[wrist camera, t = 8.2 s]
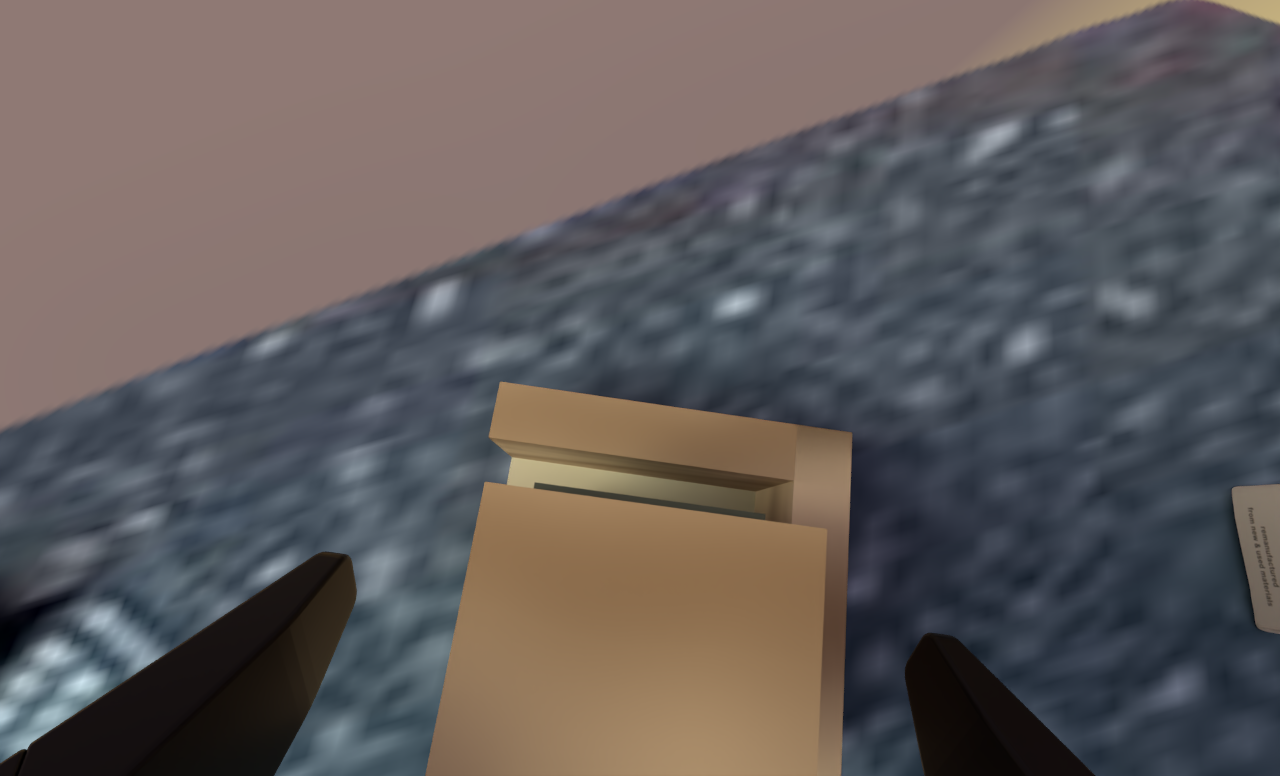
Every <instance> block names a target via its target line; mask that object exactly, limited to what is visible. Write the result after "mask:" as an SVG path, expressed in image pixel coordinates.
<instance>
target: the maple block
mask: <svg viewBox="0 0 1280 776" xmlns="http://www.w3.org/2000/svg"><path fill="white" fill-rule="evenodd" d="M826 547H827V529H824V528H817V527H809V526H802V525H795V524H788V523H780V522H773V521H766V520H765V514H761V513H754V512H747V511H739V510H732V509H725V508H718V507H710V506H703V505H696V504H689V503H681V502H674V501H667V500H660V499H653V498H645V497H638V496H631V495H624V494H616V493H609V492H602V491H595V490H587V489H580V488H573V487H566V486H558V485H551V484H544V483H537V482H535V483H534V488H526V487H519V486H512V485H505V484H497V483H490V482H485V484H484V489H483V494H482V499H481V504H480V509H479V514H478V519H477V524H476V528H475V533H474V538H473V543H472V548H471V553H470V558H469V563H468V568H467V573H466V578H465V583H464V588H463V593H462V597H461V602H460V607H459V612H458V617H457V622H456V627H455V632H454V637H453V642H452V647H451V652H450V657H449V662H448V666H447V671H446V676H445V681H444V686H443V691H442V696H441V701H440V706H439V711H438V716H437V721H436V726H435V731H434V736H433V740H432V745H431V750H430V755H429V760H428V765H427V770H426V775H425V776H817V766H818V742H819V717H820V693H821V669H822V645H823V620H824V596H825V572H826Z"/></svg>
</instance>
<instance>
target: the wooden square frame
mask: <svg viewBox="0 0 1280 776" xmlns="http://www.w3.org/2000/svg"><path fill="white" fill-rule="evenodd" d="M489 438H490V439H491V440H492V441H494V442H495V443H496V444H497V445H498V446H499V447H501V448H502V449H503V450H504V451H505V452H507V453H508V454H509V455H510V456H511V457H512V460H511V466H510V471H509V476H508V481H507V485H512V486H519V487H526V488H534V483H535V482H537V483H544V484H551V485H558V486H566V487H573V488H580V489H587V490H595V491H602V492H609V493H616V494H624V495H631V496H638V497H645V498H653V499H660V500H667V501H674V502H681V503H689V504H696V505H703V506H710V507H718V508H725V509H732V510H739V511H747V512H754V513H761V514H765V520H766V521H773V522H780V523H788V524H795V525H802V526H809V527H817V528H824V529H827V547H826V572H825V596H824V620H823V645H822V669H821V693H820V717H819V742H818V766H817V776H841V761H842V730H843V700H844V669H845V639H846V608H847V578H848V547H849V517H850V486H851V456H852V433H851V432H844V431H837V430H831V429H824V428H817V427H810V426H803V425H796V424H789V423H782V422H775V421H768V420H761V419H755V418H748V417H741V416H734V415H727V414H720V413H713V412H706V411H699V410H692V409H685V408H679V407H672V406H665V405H658V404H651V403H644V402H637V401H630V400H623V399H616V398H609V397H603V396H596V395H589V394H582V393H575V392H568V391H561V390H554V389H547V388H540V387H533V386H527V385H520V384H513V383H506V382H500V385H499V390H498V395H497V400H496V404H495V409H494V414H493V419H492V424H491V429H490V433H489Z"/></svg>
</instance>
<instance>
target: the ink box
mask: <svg viewBox="0 0 1280 776" xmlns="http://www.w3.org/2000/svg"><path fill="white" fill-rule="evenodd" d="M1232 500H1233V507H1234V515H1235V521H1236V525H1237V530H1238V535H1239V540H1240V545H1241V550H1242V554H1243V558H1244V563H1245V568H1246V572H1247V577H1248V581H1249V586H1250V592H1251V600H1252V605H1253V610H1254V617H1255V624H1256V626H1257V627H1258V628H1259V629H1260V630H1263V631H1266V632H1271V633H1276V634H1280V484H1272V485H1256V486H1237V487H1234V488H1232Z"/></svg>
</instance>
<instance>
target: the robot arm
mask: <svg viewBox="0 0 1280 776" xmlns="http://www.w3.org/2000/svg"><path fill="white" fill-rule="evenodd" d="M356 594H357V589H356V583H355V577H354V571H353V565H352V560H351V558H350V557H349V556H348V555H346V554H341V553H334V552H321V553H318V554H316V555H314V556H313V557H311V558H310V559H308V560H307V561H305V562H304V563H302V564H301V565H299V566H298V567H296V568H295V569H293V570H292V571H290V572H289V573H287V574H286V575H284V576H283V577H281V578H280V579H278V580H277V581H275V582H274V583H272V584H271V585H269V586H268V587H266V588H265V589H263V590H262V591H260V592H259V593H257V594H256V595H254V596H253V597H251V598H250V599H248V600H247V601H245V602H244V603H242V604H240V605H239V606H237V607H236V608H234V609H233V610H231V611H230V612H228V613H227V614H225V615H224V616H222V617H221V618H219V619H218V620H216V621H215V622H213V623H212V624H210V625H209V626H207V627H206V628H204V629H203V630H201V631H200V632H198V633H197V634H195V635H194V636H192V637H191V638H189V639H188V640H186V641H185V642H183V643H182V644H180V645H179V646H177V647H176V648H174V649H173V650H171V651H170V652H168V653H167V654H165V655H164V656H162V657H161V658H159V659H158V660H156V661H154V662H153V663H151V664H150V665H148V666H147V667H145V668H144V669H142V670H141V671H139V672H138V673H136V674H135V675H133V676H132V677H130V678H129V679H127V680H126V681H124V682H123V683H121V684H120V685H118V686H117V687H115V688H114V689H112V690H111V691H109V692H108V693H106V694H105V695H103V696H102V697H100V698H99V699H97V700H96V701H94V702H93V703H91V704H90V705H88V706H87V707H85V708H84V709H82V710H81V711H79V712H78V713H76V714H75V715H73V716H72V717H70V718H69V719H67V720H65V721H64V722H62V723H61V724H59V725H58V726H56V727H55V728H53V729H52V730H50V731H49V732H47V733H46V734H44V735H43V736H41V737H40V738H38V739H37V740H35V741H34V742H32V743H31V744H30V745H29V747H28V749H27V750H26V749H23V750H20V751H18V752H17V753H15V754H14V755H12V756H11V757H9V758H8V759H6V760H5V761H3V762H2V763H0V776H274V775H275V773H276V771H277V769H278V767H279V766H280V764H281V762H282V760H283V758H284V756H285V755H286V753H287V751H288V749H289V747H290V745H291V743H292V742H293V740H294V738H295V736H296V734H297V732H298V731H299V729H300V727H301V725H302V723H303V721H304V719H305V717H306V715H307V713H308V711H309V710H310V708H311V706H312V703H313V701H314V699H315V697H316V694H317V692H318V690H319V688H320V685H321V683H322V680H323V678H324V676H325V673H326V671H327V669H328V666H329V664H330V661H331V659H332V657H333V654H334V652H335V650H336V647H337V645H338V642H339V640H340V638H341V635H342V633H343V631H344V628H345V626H346V623H347V621H348V619H349V616H350V614H351V612H352V609H353V607H354V604H355V600H356ZM905 680H906V686H907V691H908V696H909V701H910V706H911V711H912V716H913V721H914V726H915V731H916V736H917V741H918V746H919V751H920V756H921V761H922V766H923V771H924V775H925V776H1095V775H1094V774H1093V773H1092V772H1091V771H1090V770H1089V769H1088V768H1087V767H1086V766H1085V765H1084V764H1083V763H1082V762H1081V761H1080V760H1079V759H1078V758H1077V757H1076V756H1075V755H1074V754H1073V753H1072V752H1071V751H1070V750H1069V749H1068V748H1067V747H1066V746H1065V745H1064V744H1063V743H1062V742H1061V741H1060V740H1059V739H1058V738H1057V737H1056V736H1055V735H1054V734H1053V733H1052V732H1051V731H1050V730H1049V729H1048V728H1047V727H1046V726H1045V725H1044V724H1043V723H1042V722H1041V721H1040V720H1039V719H1038V718H1037V717H1036V716H1035V715H1034V714H1033V713H1032V712H1031V711H1030V710H1029V709H1028V708H1027V707H1026V706H1025V705H1024V704H1023V703H1022V702H1021V701H1020V700H1019V699H1018V698H1017V697H1016V696H1015V695H1014V694H1013V693H1012V692H1011V691H1010V690H1009V689H1008V688H1007V687H1006V686H1004V685H1003V684H1002V683H1001V682H1000V681H999V680H998V679H997V678H996V677H995V676H994V675H993V674H992V673H991V672H990V671H989V670H988V669H987V668H986V667H985V666H984V665H983V664H982V663H981V662H980V661H979V660H978V659H977V658H976V657H975V656H974V655H973V654H972V653H971V652H970V651H969V650H968V649H967V648H966V647H965V646H964V645H963V644H962V643H961V642H960V641H959V640H958V639H956V638H955V637H953V636H950V635H944V634H937V633H927V634H925V635H924V636H923V637H922V638H921V640H920V642H919V643H918V645H917V647H916V648H915V650H914V651H913V653H912V655H911V656H910V658H909V660H908V661H907V664H906V667H905Z"/></svg>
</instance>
